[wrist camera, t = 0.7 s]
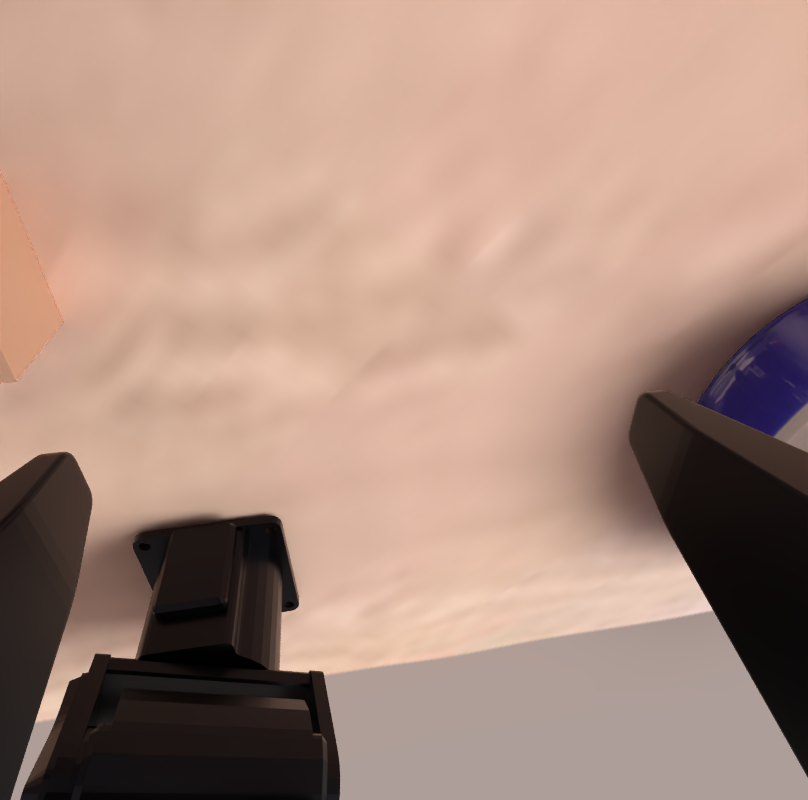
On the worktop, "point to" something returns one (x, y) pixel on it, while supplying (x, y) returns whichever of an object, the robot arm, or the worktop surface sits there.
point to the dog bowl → (768, 380)
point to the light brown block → (21, 295)
